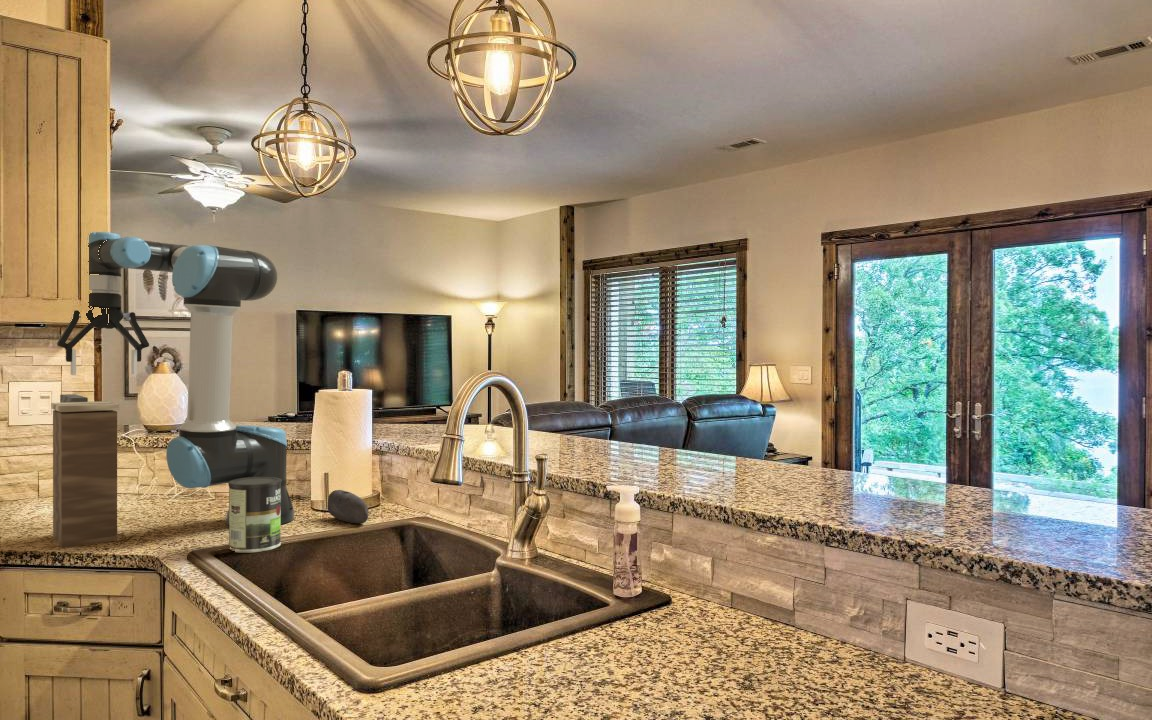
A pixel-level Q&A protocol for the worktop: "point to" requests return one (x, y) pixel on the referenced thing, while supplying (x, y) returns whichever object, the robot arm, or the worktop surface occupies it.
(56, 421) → the upright wooden block
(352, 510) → the dark grey stone
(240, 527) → the coffee can
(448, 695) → the worktop surface
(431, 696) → the worktop surface
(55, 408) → the lid
